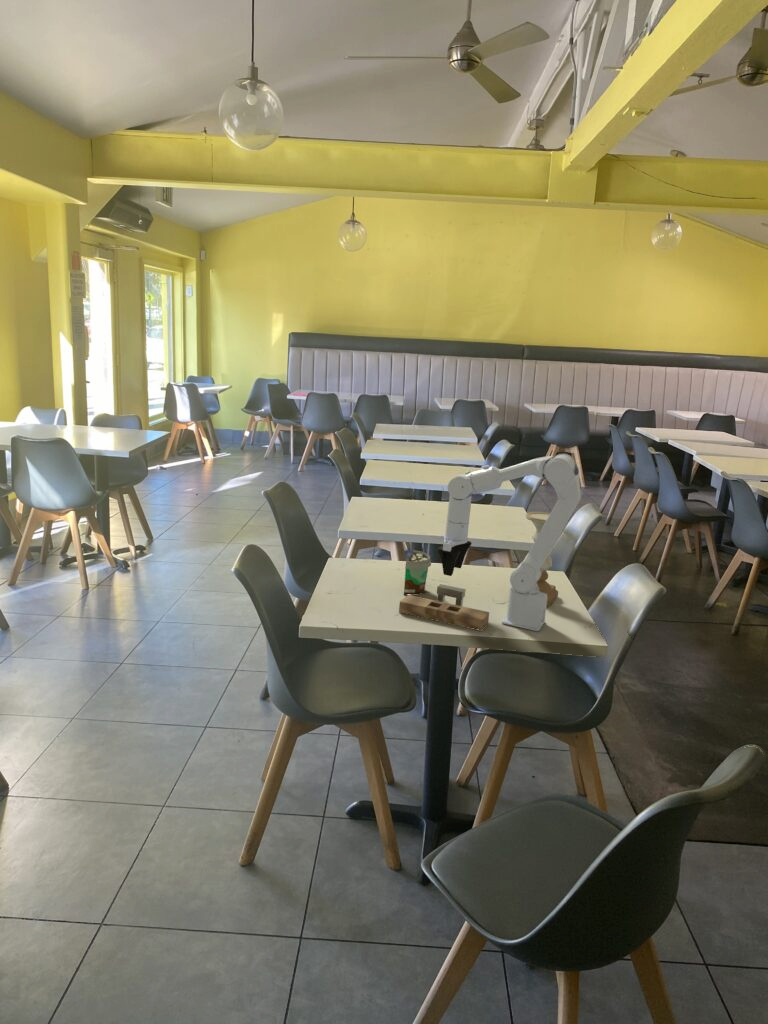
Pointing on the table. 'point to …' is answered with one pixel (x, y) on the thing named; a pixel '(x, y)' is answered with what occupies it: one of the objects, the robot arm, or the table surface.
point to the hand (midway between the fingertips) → (452, 571)
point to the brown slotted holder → (444, 612)
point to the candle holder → (543, 586)
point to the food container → (416, 572)
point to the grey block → (451, 593)
